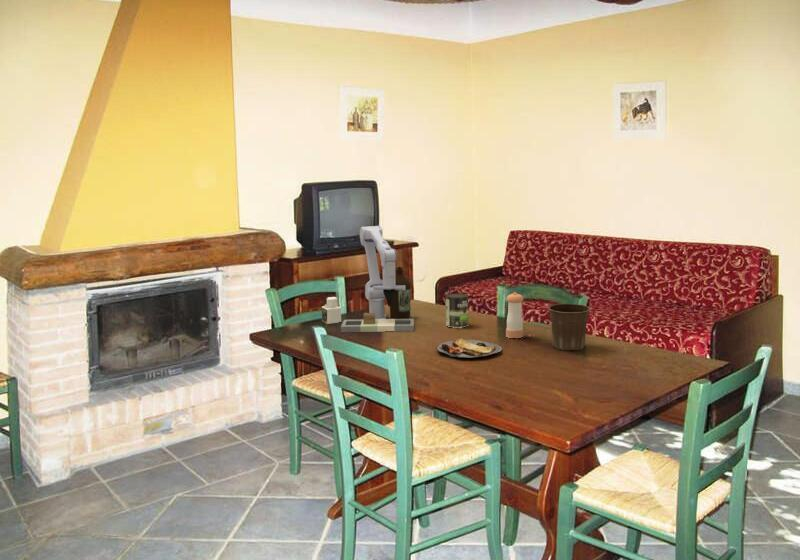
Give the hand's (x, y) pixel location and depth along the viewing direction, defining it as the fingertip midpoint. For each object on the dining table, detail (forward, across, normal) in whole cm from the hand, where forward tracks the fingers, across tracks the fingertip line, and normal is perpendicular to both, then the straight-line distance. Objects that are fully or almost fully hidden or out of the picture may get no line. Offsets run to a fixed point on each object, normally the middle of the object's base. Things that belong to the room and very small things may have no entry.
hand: (389, 306), depth 340 cm
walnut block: (+7, -9, -4) cm, 12 cm away
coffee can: (+9, +30, -1) cm, 32 cm away
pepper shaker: (+9, +54, -23) cm, 59 cm away
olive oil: (+10, +4, +15) cm, 19 cm away
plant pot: (+9, +73, -41) cm, 84 cm away
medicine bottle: (+10, -28, +10) cm, 31 cm away
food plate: (+9, +33, -46) cm, 58 cm away
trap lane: (+9, -5, -4) cm, 11 cm away
